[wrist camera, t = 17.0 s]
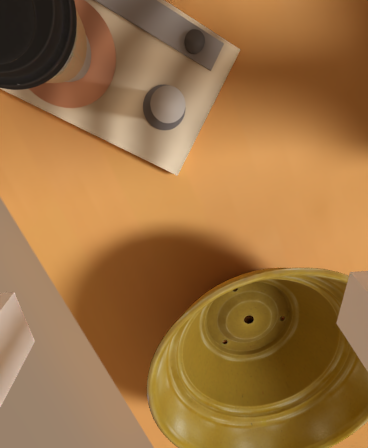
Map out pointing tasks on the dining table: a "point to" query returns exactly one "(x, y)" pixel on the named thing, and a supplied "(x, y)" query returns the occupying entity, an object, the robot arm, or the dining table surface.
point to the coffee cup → (41, 43)
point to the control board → (142, 79)
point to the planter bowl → (260, 366)
